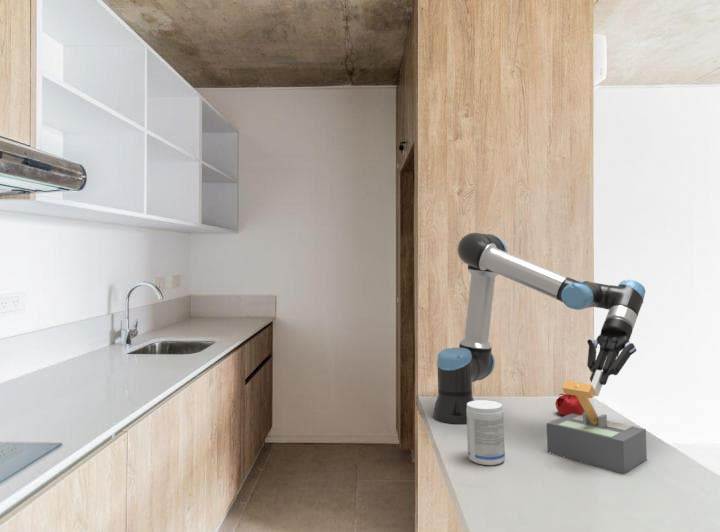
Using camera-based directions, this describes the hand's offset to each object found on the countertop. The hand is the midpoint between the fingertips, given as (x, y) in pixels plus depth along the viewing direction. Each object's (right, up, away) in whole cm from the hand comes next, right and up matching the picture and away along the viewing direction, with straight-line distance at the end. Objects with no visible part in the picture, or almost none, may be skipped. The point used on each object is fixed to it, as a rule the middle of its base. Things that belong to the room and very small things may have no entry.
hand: (593, 392), depth 128 cm
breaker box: (+1, -17, +1) cm, 17 cm away
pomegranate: (+11, -19, +39) cm, 45 cm away
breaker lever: (+2, -9, +2) cm, 9 cm away
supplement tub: (-29, -18, 0) cm, 34 cm away
